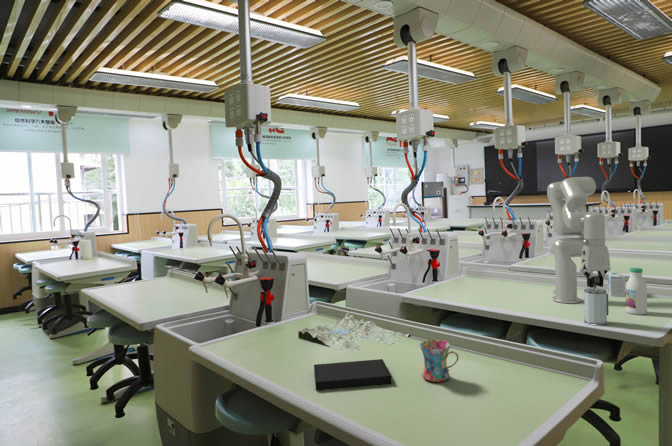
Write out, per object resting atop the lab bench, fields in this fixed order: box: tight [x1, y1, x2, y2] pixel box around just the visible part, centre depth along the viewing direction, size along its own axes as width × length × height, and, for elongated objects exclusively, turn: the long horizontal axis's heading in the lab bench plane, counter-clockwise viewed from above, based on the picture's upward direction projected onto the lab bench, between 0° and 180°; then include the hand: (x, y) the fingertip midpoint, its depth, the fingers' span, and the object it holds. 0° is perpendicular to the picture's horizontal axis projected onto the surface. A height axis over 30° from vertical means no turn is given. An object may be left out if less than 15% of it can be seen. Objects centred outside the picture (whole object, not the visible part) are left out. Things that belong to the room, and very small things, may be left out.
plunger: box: [592, 275, 600, 291], centre depth 182 cm, size 6×6×15 cm
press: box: [583, 287, 609, 326], centre depth 183 cm, size 8×9×14 cm
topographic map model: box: [297, 312, 411, 352], centre depth 179 cm, size 36×29×5 cm
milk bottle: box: [625, 267, 648, 316], centre depth 194 cm, size 8×8×20 cm
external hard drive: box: [313, 358, 393, 391], centre depth 139 cm, size 14×23×3 cm, turn 95°
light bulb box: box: [607, 271, 626, 298], centre depth 228 cm, size 11×7×11 cm, turn 154°
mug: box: [419, 339, 460, 383], centre depth 135 cm, size 12×9×11 cm
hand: (595, 286), depth 182 cm, fingers closed on plunger, 3 cm apart
